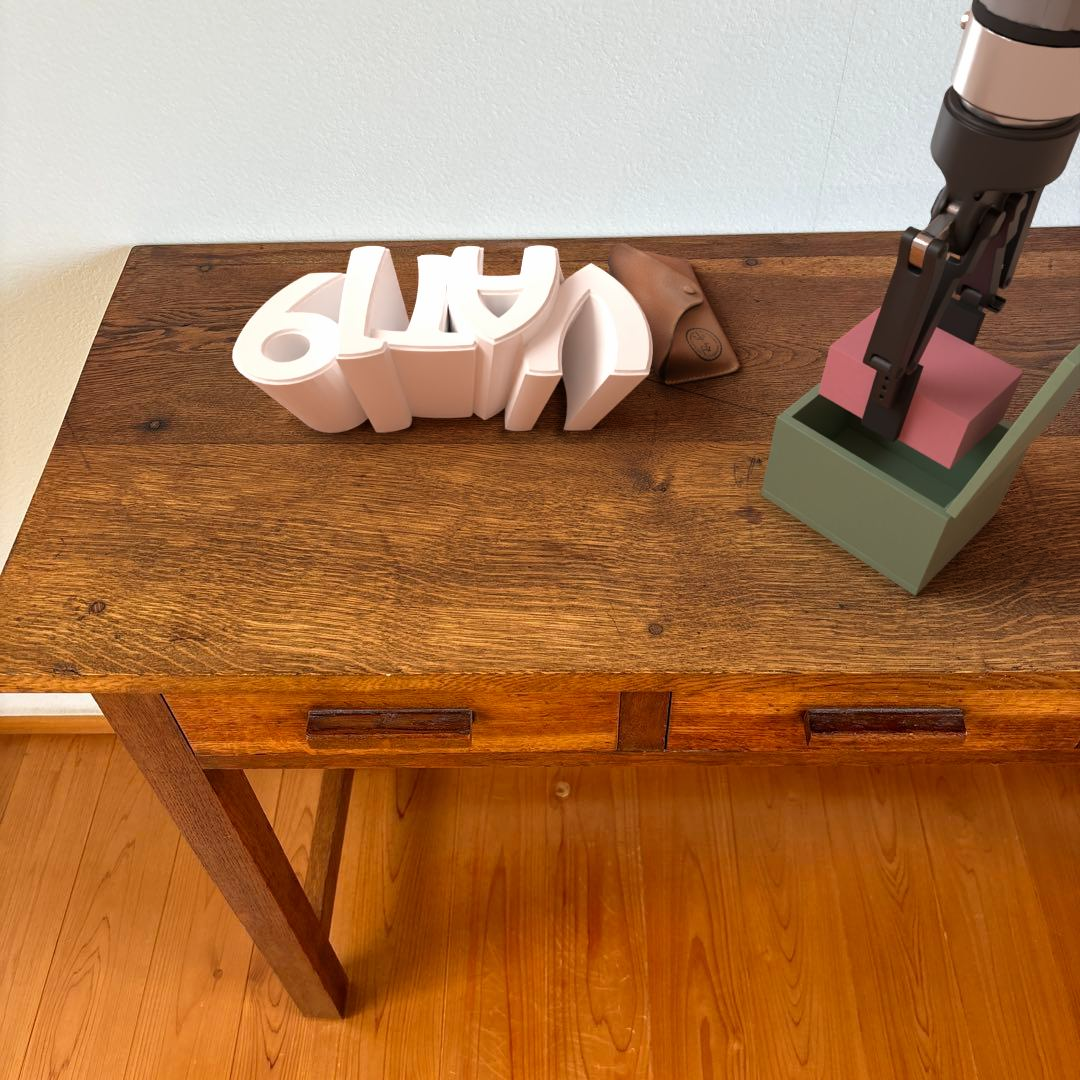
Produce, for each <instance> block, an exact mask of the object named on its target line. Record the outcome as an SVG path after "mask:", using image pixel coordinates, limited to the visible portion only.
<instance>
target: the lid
mask: <svg viewBox="0 0 1080 1080" xmlns="http://www.w3.org/2000/svg"><path fill="white" fill-rule="evenodd" d="M1079 388H1080V343H1079V344H1078V345H1077V346H1076V347H1075V348H1073V349H1072V350H1071V351H1070V352H1069V353H1068V354H1066V356H1065V357H1064V358H1063V359H1062V360H1061V362H1060V363H1059V365H1058V366H1057V367H1056V368H1055V370H1054V371H1053V372H1052V374H1050V376H1049V377H1048V379H1047V380H1046V382H1045V383H1044V384H1043V385H1042V387H1040V389H1039V390H1038V392H1037V393H1036V394H1035V395H1034V396H1033V398H1032V399H1031V401H1030V402H1029V403H1028V405H1027V406H1026V407H1025V409H1024V410H1023V411H1022V412H1021V414H1019V416H1018V417H1017V419H1016V420H1015V421H1014V423H1013V425H1012V427H1011V428H1010V429H1009V431H1008V432H1007V433H1006V434H1005V436H1004V437H1003V438H1002V440H1001V441H1000V442H999V443H998V445H997V446H996V447H995V449H994V450H993V451H992V453H991V454H990V455H989V456H988V458H987V459H986V460H985V462H984V463H983V464H982V465H981V467H980V468H979V469H978V471H977V472H976V473H975V475H974V476H973V477H972V478H971V480H970V481H969V482H968V484H967V485H966V486H965V487H964V489H963V490H962V491H961V493H960V494H959V495H958V497H957V498H956V499H955V500H954V502H953V503H952V504H951V506H950V507H949V508H948V509H947V511H946V512H947V513H948V514H949V515H951V516H952V517H953V518H957V517H958V516H959V515H960V514H961V513H962V512H963V511H964V510H965V509H966V508H967V507H968V506H969V505H970V504H971V503H972V502H973V501H974V500H975V499H976V498H977V497H978V496H979V495H980V494H981V493H982V492H983V491H984V490H985V489H986V488H987V487H988V486H989V485H990V484H991V483H992V482H993V481H994V480H995V479H996V478H997V477H998V476H999V475H1000V474H1001V473H1002V472H1003V471H1004V470H1005V469H1006V468H1007V467H1008V466H1009V465H1010V464H1011V463H1012V462H1013V461H1014V460H1015V459H1016V458H1017V457H1018V456H1019V455H1020V454H1021V453H1022V452H1023V451H1024V450H1025V449H1026V448H1027V447H1028V446H1029V447H1030V446H1031V445H1032V444H1033V443H1034V442H1035V441H1036V440H1037V439H1038V438H1039V437H1040V436H1041V435H1042V434H1043V432H1045V430H1046V429H1047V428H1048V427H1049V426H1050V424H1051V423H1052V422H1053V421H1054V419H1056V417H1057V415H1058V414H1059V413H1060V412H1061V411H1062V410H1063V408H1064V407H1065V406H1066V404H1067V403H1068V402H1069V401H1070V400H1071V399H1072V397H1073V396H1074V395H1075V393H1076V392H1078V390H1079ZM1029 447H1028V448H1029Z"/></svg>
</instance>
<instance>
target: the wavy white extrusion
mask: <svg viewBox="0 0 1080 1080" xmlns="http://www.w3.org/2000/svg"><path fill="white" fill-rule="evenodd" d="M484 253H485V248H484V247H480V246H475V245H474V246H473V245H467V246H457V247H456V248H454V249H453V252H452V254H451V255H450V256H448V255H444V254H443V255H442V254H422V255H421V254H420V256H419V255H418V256H417V265H418V266H417V267H418V287H417V295H416V300H415V305H414V309H413V313H412V315H411V319H410V320H409V315H408V312H407V309H406V305H405V301H404V298H403V294H402V291H401V288H400V284H399V283H400V282H399V280H398V275H397V273H396V269H395V266H394V262H393V258H392V254H391V251H390V248H386V247H385V246H380V245H366V246H360V247H355V248H353V249H352V250H351V252H350V256H349V260H348V264H347V269H346V273H342V272H311V273H307V274H306V275H303V276H302V277H300V278H298V279H296V280H294V281H292V282H291V283H289V284H288V285H287V286H285V287H284V288H282V289H280V290H278V292H277V293H275V294H274V295H273V296H272V297H270V298H269V299H268V300H267V301H265V302H264V303H263V304H262V305H261V306H260V307H259V308H258V309H257V310H256V311H255V313H254V314H253V315H252V316H251V317H250V318H249V320H248V321H247V323H246V324H245V325H244V327H243V329H242V330H241V332H240V334H239V335H238V336H237V339H236V341H235V343H234V346H233V349H232V362H233V365H234V367H235V368H236V370H237V371H238V372H239V373H240V374H241V375H242V376H244V377H245V378H246V379H247V380H248V381H250V382H251V383H253V384H254V385H255V386H256V387H258V388H259V389H260V390H261V391H263V392H264V393H266V394H267V395H268V396H269V397H270V398H272V399H273V400H274V401H275V402H277V403H278V404H280V405H281V406H282V407H283V408H285V409H286V410H287V411H288V412H290V413H291V414H292V415H293V416H295V418H297V419H299V420H300V421H301V422H303V424H305V425H306V426H307V427H309V428H311V429H312V430H314V431H318V432H321V433H328V434H332V433H333V434H335V433H342V432H346V431H349V430H352V429H355V428H357V427H358V426H360V425H361V424H363V423H364V422H366V421H367V420H369V422H370V424H371V426H372V428H373V429H374V431H375V433H393V432H397V431H401V430H404V429H405V430H406V429H407V428H409V427H410V426H411V425H412V422H413V417H416V418H428V419H429V418H430V419H454V418H457V419H458V418H470V417H472V416H473V414H475V415H476V416H477V417H479V418H480V419H482V420H484V421H487V420H488V419H490V418H493V417H494V416H496V415H497V414H499V413H501V411H503V410H504V429H505V430H507V431H512V432H527V431H531V430H532V429H533V427H534V426H535V424H536V423H537V421H538V418H539V417H540V415H541V413H542V411H543V410H544V408H545V407H546V404H547V403H548V401H549V400H550V398H551V396H552V394H553V393H554V391H555V389H556V387H557V385H558V384H559V382H560V381H561V379H562V381H563V383H564V388H565V393H566V418H565V423H564V427H563V431H590V430H592V429H593V428H594V427H595V426H596V425H597V424H598V423H600V421H602V420H603V419H604V418H605V417H606V416H607V415H608V414H609V413H610V412H611V411H612V410H613V409H614V408H615V407H616V406H618V404H620V403H621V402H622V401H623V400H624V399H625V398H626V397H627V396H628V395H629V394H630V393H631V392H632V391H633V390H635V388H636V387H637V386H638V385H639V384H640V383H641V382H642V381H644V380H645V379H646V378H647V377H648V376H649V375H650V372H651V366H652V364H651V363H652V354H653V347H652V337H651V332H650V328H649V324H648V322H647V319H646V317H645V314H644V313H643V311H642V309H641V307H640V306H639V304H638V303H637V301H636V300H635V299H634V297H633V296H632V295H631V294H630V293H629V292H628V290H627V289H626V288H625V287H624V286H623V285H622V284H620V283H619V282H618V281H617V280H616V279H615V278H613V276H612V274H609V273H608V272H606V271H605V270H604V269H602V268H600V267H598V266H596V265H595V264H593V263H592V262H591V263H589V264H587V265H585V266H584V267H582V268H580V269H578V270H577V271H576V272H574V273H573V274H571V275H570V276H569V277H566V279H565V277H564V274H563V271H562V270H563V269H562V268H561V264H560V255H559V250H558V248H556V247H554V246H552V245H551V246H550V245H539V244H538V245H530V246H528V247H525V248H524V250H523V257H522V261H521V268H520V272H519V274H513V275H483V274H484Z"/></svg>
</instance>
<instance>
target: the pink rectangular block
mask: <svg viewBox="0 0 1080 1080" xmlns="http://www.w3.org/2000/svg"><path fill="white" fill-rule="evenodd" d="M880 309H881V306H879V307H878V308H876V309H875V310H874V311H873V312H872V313H870V314H869V315H868V316H867V317H866V318H864V319H863V320H862V321H860V322H858V324H856V325H855V326H854V327H852V328H851V329H850V330H849V331H847V332H846V333H845V334H843V335H842V336H841V337H840V338H838V339H837V340H836V341H835V342H833V343H832V344H831V345H830V346H829V349H828V353H827V357H826V361H825V365H824V369H823V373H822V377H821V381H820V382H821V384H820V388H819V392H818V393H819V394H820V395H822V396H824V397H826V398H827V399H829V400H831V401H833V402H834V403H836V404H838V405H839V406H841V407H843V408H845V409H846V410H848V411H850V412H852V413H853V414H855V415H857V416H858V417H860V418H863V415H864V411H865V408H866V405H867V401H868V398H869V395H870V391H871V388H872V385H873V382H874V378H875V375H876V372H877V371H876V370H874V369H873V368H871V367H869V366H867V365H865V364H864V363H863V358H864V355H865V352H866V349H867V346H868V343H869V341H870V338H871V335H872V332H873V329H874V326H875V323H876V321H877V318H878V315H879V312H880ZM918 364H920V365H922V366H924V367H923V370H922V373H921V376H920V379H919V382H918V385H917V388H916V390H915V393H914V396H913V399H912V401H911V404H910V407H909V410H908V413H907V416H906V419H905V422H904V425H903V427H902V430H901V433H900V436H899V438H898V440H900V441H902V442H903V443H905V444H907V445H908V446H910V447H912V448H914V449H915V450H917V451H919V452H921V453H922V454H924V455H926V456H927V457H929V458H931V459H933V460H934V461H936V462H938V463H939V464H941V465H943V466H945V467H946V468H948V469H951V468H952V467H953V466H954V465H955V464H956V463H957V462H958V461H959V460H960V459H961V458H962V457H963V456H964V455H965V454H966V453H967V452H968V451H970V450H971V449H972V448H973V447H974V446H975V445H976V444H977V443H978V442H979V441H980V440H981V439H982V438H983V437H984V436H985V435H986V434H988V433H989V432H990V431H991V430H992V429H993V428H994V427H995V426H996V425H997V424H998V423H999V422H1000V421H1001V420H1002V419H1003V418H1004V417H1005V415H1006V413H1007V411H1008V408H1009V406H1010V404H1011V402H1012V399H1013V397H1014V395H1015V394H1016V391H1017V389H1018V386H1019V384H1020V382H1021V380H1022V378H1023V376H1024V373H1025V371H1024V370H1022V369H1020V368H1018V367H1016V366H1015V365H1012V364H1011V363H1009V362H1006V361H1005V360H1002V359H1000V358H998V357H996V356H994V355H993V354H990V353H988V352H987V351H985V350H983V349H981V348H979V347H976V346H975V345H974V346H973V345H971V344H969V343H967V342H965V341H963V340H961V339H959V338H957V337H955V336H953V335H951V334H949V333H947V332H945V331H943V330H941V329H939V328H937V327H936V329H935V331H934V333H933V335H932V337H931V339H930V341H929V343H928V345H927V347H926V349H925V351H924V353H923V355H922V357H921V359H920V361H919V363H918Z"/></svg>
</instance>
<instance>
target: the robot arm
mask: <svg viewBox="0 0 1080 1080" xmlns="http://www.w3.org/2000/svg"><path fill="white" fill-rule="evenodd" d="M959 26H960V28H961V30H963V33H962V37H961V40H960V43H959V47H958V50H957V54H956V57H955V61H954V64H953V68H952V71H951V73H950V74H951V75H950V82H951V86H949V87H948V88H947V90H946V91H945V93H944V95H943V98H942V102H941V106H940V109H939V111H938V116H937V118H936V123H935V125H934V130H933V132H932V135H931V136H932V137H931V139H930V146H929V149H930V155H931V157H932V160H933V162H934V163H935V165H936V166H937V167H938V168H939V170H940V171H941V173H942V175H943V177H944V181H945V185H944V186H943V187H941V188H940V190H939V192H938V193H937V195H936V197H935V200H934V202H933V205H932V206H931V209H930V220H929V222H928V224H927V226H926V227H925V228H924V229H923V230H921V229H918V228H917V227H914V226H913V225H909V226H908V227H907V228H906V229H905V230H904V232H903V233H902V234H901V238H900V239H899V245H898V252H897V258H896V263H895V266H894V269H893V272H892V276H891V278H890V281H889V283H888V286H887V289H886V292H885V295H884V298H883V301H882V304H881V306H880V307H881V309H880V312H879V315H878V318H877V321H876V323H875V326H874V329H873V332H872V335H871V338H870V341H869V343H868V346H867V349H866V352H865V355H864V358H863V363H864V364H865V365H867V366H869V367H871V368H873V369H874V370H876V371H877V372H876V375H875V378H874V382H873V385H872V388H871V391H870V395H869V398H868V401H867V405H866V408H865V411H864V415H863V418H862V421H861V424H862V425H863V426H865V427H867V428H869V429H870V430H872V431H874V432H875V433H877V434H879V435H881V436H882V437H884V438H886V439H888V440H889V441H891V442H895V441H896V440H897V439H898V438H899V436H900V433H901V430H902V427H903V425H904V422H905V419H906V416H907V413H908V410H909V407H910V404H911V401H912V399H913V396H914V393H915V390H916V388H917V385H918V382H919V379H920V376H921V373H922V370H923V367H924V366H922V365H920V364H918V363H919V361H920V359H921V357H922V355H923V353H924V351H925V349H926V347H927V345H928V343H929V341H930V339H931V337H932V335H933V333H934V331H935V329H936V327H937V328H939V329H941V330H943V331H945V332H947V333H949V334H951V335H953V336H955V337H957V338H959V339H961V340H963V341H965V342H967V343H969V344H971V345H973V346H975V344H976V341H977V339H978V335H979V333H980V330H981V328H982V325H983V323H984V321H985V318H986V316H987V313H986V312H984V309H985V310H988V311H990V312H992V313H994V314H996V315H997V314H999V313H1000V312H1001V311H1002V310H1003V308H1004V307H1005V305H1006V302H1007V300H1008V299H1007V298H1004V297H1003V296H1000V295H998V290H999V289H1001V290H1006V289H1007V288H1008V287H1009V286H1010V285H1011V283H1012V281H1013V278H1014V275H1015V273H1016V269H1017V266H1018V263H1019V260H1020V257H1021V255H1022V251H1023V249H1024V247H1025V243H1026V240H1027V237H1028V235H1029V231H1030V229H1031V226H1032V223H1033V220H1034V217H1035V214H1036V212H1037V209H1038V206H1039V203H1040V200H1041V197H1042V194H1043V192H1044V190H1045V188H1046V186H1049V185H1050V184H1052V183H1054V182H1055V181H1056V180H1057V179H1059V178H1060V176H1061V175H1063V173H1064V171H1065V170H1066V167H1067V166H1068V163H1069V160H1070V158H1071V155H1072V153H1073V151H1074V148H1075V146H1076V143H1077V140H1078V138H1079V135H1080V0H972V2H971V6H970V9H969V10H967V11H966V12H965V13H964V14H963V15H962V17H961V18H960V20H959ZM952 254H954V255H956V256H958V257H959V258H957V257H955V256H953V255H952ZM954 294H955V295H957V296H959V299H957V298H955V297H953V296H954Z"/></svg>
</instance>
